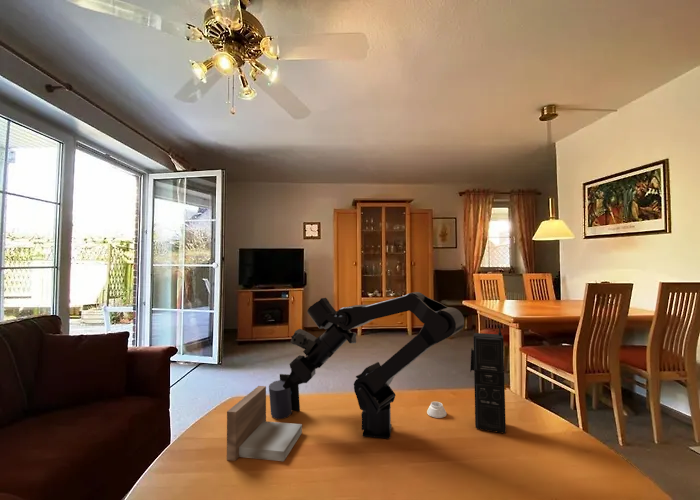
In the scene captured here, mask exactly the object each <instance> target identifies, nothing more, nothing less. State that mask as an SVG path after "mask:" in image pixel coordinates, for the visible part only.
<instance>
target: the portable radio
mask: <svg viewBox="0 0 700 500" xmlns="http://www.w3.org/2000/svg"><path fill="white" fill-rule="evenodd" d="M501 327H502V326H501V325H498V334H497V333H482V332H481V333H480V332H475V333H473V337H472V338H473V347H472V348H471V350H470V351H471V352H470V370H469V371H470V373H472V371H473V372H474V374H473V375H474V376H473V378H474V379H473V381H474V382H473V383H474V413H475V414H474V424H475V425H474V426H475V427H474V428H476V430H481V429H483V430H482V431H487V430H489V432H493V431H497V432H496V433H499V432H503V433H502V434H506V433H505V432H507V430H506V429H507V427H506V426H507V425H506V423H507V421H506V389H505V348H504V347H505V346H504V344H505V343H504V340H505V339H504V335H503V334H502V332H501V330H502V329H501Z"/></svg>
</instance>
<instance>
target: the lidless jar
mask: <svg viewBox="0 0 700 500" xmlns="http://www.w3.org/2000/svg"><path fill="white" fill-rule="evenodd" d="M426 413H427V415H428V416H430V417H432V418H434V419H441V418H444V417H445V418H446V416H447V411H446V409H445V407H444V406H443V403H442V402H439V401H431V402H430V405H429V407H428V409H427V410H426Z"/></svg>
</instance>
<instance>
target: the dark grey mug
mask: <svg viewBox="0 0 700 500" xmlns="http://www.w3.org/2000/svg"><path fill="white" fill-rule="evenodd" d="M289 375H290V373H289V374H287V373H279V379H278V380H274V381H272V382H271V383H270V384H268V395H269V406H270V407H269V408H270V416H271V418H273V419H276V420H282V419H287V418H288V417H289V416H290V415H292V413H293V412H294V411H295V412H300V411H301V405H300V404H301V403H300V389H299V387H300V386H299V385H300V384H299V385H296V386H293V387H290V388H287V389H285V388H284V387H283V385H284V383H285V381H286V380H287V378H288V376H289Z"/></svg>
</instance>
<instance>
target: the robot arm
mask: <svg viewBox="0 0 700 500" xmlns="http://www.w3.org/2000/svg"><path fill="white" fill-rule="evenodd" d="M406 312H411V313H412V314H414V316H415V317H416V318H417V320H419V322H421V323H422V324H423V325H422V327H421V329H420V330H419V332H418V334H416V336H414V337H413V338H411V340H409V342H407V343H406V344H405V345H403V346H402V347H401V348H400V349H399V350H398V351H397V352H395V353H394V354H393V355H392V356H390V358H388V359H387V360H386V361H385V362H384V363H383V364H381V363H380V362H379V361H377V362H375V363H372V364H371V365H368V366H367V367H365V368H364V370H362V372H361V373H359V374H357V375H355V378H356V379H355V381H354V382H353V391H354V394H355V397H356V400H357V404H358V406H359V409H360V410H361V414H360V415H361V430H362V437H367V438H376V439H390V438H391V436H392V435H391V433H392V425H393V424H392V422H391V403H393V402H394V401H395V399H396V392H394V391H393V389H392V387H391V386H390V385H391V384H392V382H393V380H394V378H395V377H396V376H398V374H400V373H401V372H402V371H403V370H404V369H406V368H407V367H408V366H410V364H412V363H413V362H414V361H416V359H418V358H419V357H420V356H421V355H423V354H424V353H425V352H427V351H428V350H429V349H430V348H431V347H433V346H434V345H437V344H438V343H440V342H442V341H444V340H446V339H448V338H450V337H452V336H454V335H455V334H457V333H460V331H462V329H464V326H465V318H464V315H463V313H462V312H461V311H460V310H459V309H458V308H455V307H448V306H447V305H444V304H443V303H441V302H439V301H437V300H435V299H432V298H430V297H428V296H426V295H425V294H424V293H422V292H420V291H414V292H410V293H407V294H405V295H402V296H399V297H395V298H391V299H387V300H384V301H379V302H376V303H372V304H355V305H351V306H344V307H341V308H339V309H338V310H336V309H335V307H334V306H332V304H331V303H330V301H329V300H328V298H327V297H321V298H320V299H319V300H318V301H316V302H314V303H313V304H312V305H310V306H309V307H308V309H307V313H306V314H308V316H309V317H310V318H311V320H312V321H313V322H314V323H315V325H316V326H317V328H318V329H319V330H321V329H324V330H325V331H324V332H323V333H322V334H320V335H319V336H318V337H316V336H315V335H313V334H312V333H310V332H308V331H306V330H304V329H302V328H298V329H296V330H295V331H294V333H293V335H291V338H290V339H291V340H290V343H291V345H295V346H297V347H299V348H301V349H303V351H302V352H303V353H304V355H302V354H301V355H297V356H296V357H295V358H294V359H293V360H292V361H291V362H290V363H289V368H290V373H289V376H288V378H287V380H286V381H285V383H284V385H283V387H284V388H285V389H287V388H290V387H293V386H296V385H302V384H307V383H309V381H310V380H312V378H313V377H314V376H315V375H316V369H320V368H321V367H322V366H323V365H324V364H325V363H326V362H327V361H328V360H329V359H330V358H331V357H332V356H333V355H334V354H335V353H336V352H337V351H338V350H339V349H340V348H341V347H342V346H343V345H344V344H345V343H346V342H348V343H349V344H356V343H357V333H356V332H352V331H351V330H352V329H353V330H354V329H356V328H360V327H363V326H365V325H367V324H368V323H370V322H372V321H374V320H377V319H381V318H384V317H388V316H393V315H397V314H401V313H406Z"/></svg>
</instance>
